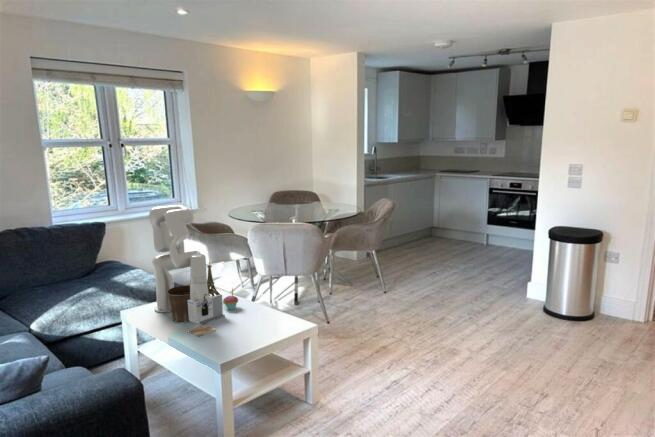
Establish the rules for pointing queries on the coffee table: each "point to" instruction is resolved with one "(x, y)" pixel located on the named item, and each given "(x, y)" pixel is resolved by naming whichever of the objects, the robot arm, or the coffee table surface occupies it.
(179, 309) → the plant pot
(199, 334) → the coaster
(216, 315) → the screen
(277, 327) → the coffee table surface
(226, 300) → the cupcake
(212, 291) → the eiffel tower
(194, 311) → the light bulb box
